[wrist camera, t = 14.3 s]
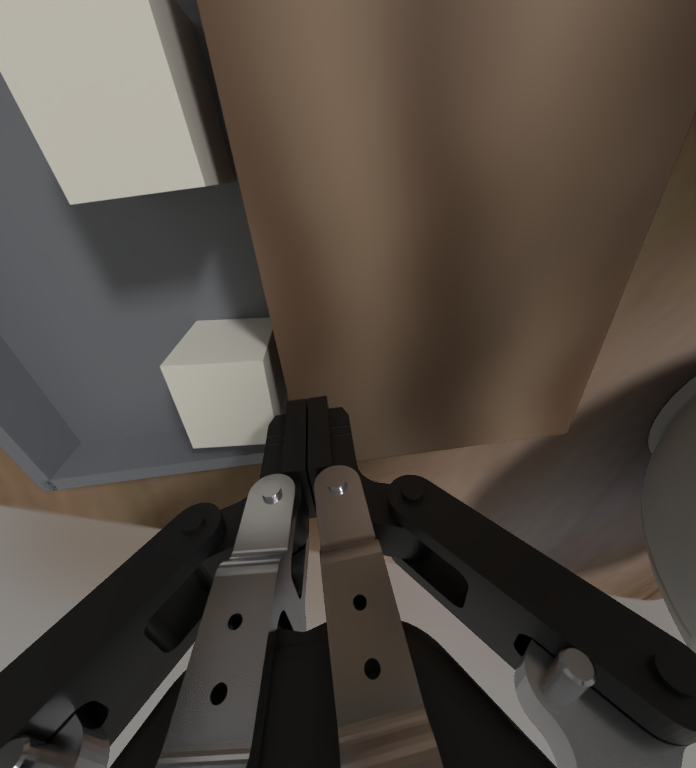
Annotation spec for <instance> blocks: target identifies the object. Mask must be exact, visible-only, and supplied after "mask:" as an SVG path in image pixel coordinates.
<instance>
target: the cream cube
mask: <svg viewBox="0 0 696 768" xmlns="http://www.w3.org/2000/svg"><path fill="white" fill-rule="evenodd" d="M0 72H1V74H2V76H3V78H4V80H5V82H6V83H7V85H8V87H9V89H10V91H11V93H12V95H13V97H14V99H15V101H16V103H17V104H18V106H19V108H20V110H21V112H22V114H23V116H24V118H25V120H26V122H27V124H28V125H29V127H30V129H31V131H32V133H33V135H34V137H35V139H36V141H37V143H38V144H39V146H40V148H41V150H42V152H43V154H44V156H45V158H46V160H47V162H48V164H49V165H50V167H51V169H52V171H53V173H54V175H55V177H56V179H57V181H58V183H59V185H60V186H61V188H62V190H63V192H64V194H65V196H66V198H67V200H68V202H69V204H70V205H72V204H80V203H87V202H94V201H102V200H109V199H117V198H124V197H131V196H139V195H146V194H153V193H161V192H168V191H175V190H183V189H190V188H198V187H205V186H211V185H217V184H224V183H230V182H235V179H234V176H233V172H232V168H231V164H230V160H229V157H228V153H227V149H226V145H225V141H224V137H223V134H222V130H221V126H220V122H219V118H218V115H217V111H216V107H215V103H214V99H213V96H212V92H211V88H210V84H209V80H208V76H207V73H206V69H205V65H204V61H203V57H202V54H201V50H200V46H199V42H198V38H197V34H196V31H195V27H194V23H193V22H192V21H191V20H190V18H189V17H188V16H187V15H186V14H185V12H184V11H183V10H182V9H181V7H180V6H179V5H178V4H177V2H176V1H175V0H0Z"/></svg>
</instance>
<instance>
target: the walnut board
mask: <svg viewBox="0 0 696 768" xmlns="http://www.w3.org/2000/svg"><path fill="white" fill-rule="evenodd" d="M197 4H198V8H199V12H200V17H201V21H202V25H203V30H204V34H205V38H206V43H207V47H208V51H209V56H210V60H211V64H212V69H213V73H214V77H215V82H216V86H217V90H218V95H219V99H220V103H221V108H222V112H223V116H224V121H225V125H226V129H227V134H228V138H229V142H230V146H231V151H232V155H233V159H234V164H235V168H236V172H237V177H238V181H239V185H240V190H241V194H242V198H243V203H244V207H245V211H246V216H247V220H248V224H249V229H250V233H251V237H252V242H253V246H254V250H255V255H256V259H257V263H258V268H259V272H260V276H261V280H262V285H263V289H264V293H265V298H266V302H267V306H268V311H269V315H270V319H271V324H272V328H273V332H274V337H275V341H276V345H277V350H278V354H279V358H280V363H281V367H282V371H283V376H284V380H285V384H286V389H287V393H288V397H289V400H297V399H305V398H307V400H308V398H312V397H320V396H327V400H328V406H329V408H336V407H342V408H343V409H344V410H345V411H346V412H347V413H348V414H349V420H350V426H351V432H352V438H353V444H354V450H355V456H356V461H361V460H369V459H376V458H384V457H392V456H399V455H407V454H414V453H422V452H430V451H437V450H445V449H452V448H460V447H468V446H475V445H483V444H490V443H498V442H506V441H513V440H521V439H529V438H536V437H544V436H551V435H559V434H567V432H568V429H569V427H570V424H571V422H572V419H573V417H574V414H575V412H576V409H577V407H578V404H579V402H580V399H581V397H582V394H583V392H584V389H585V387H586V384H587V382H588V379H589V377H590V374H591V372H592V369H593V367H594V364H595V362H596V359H597V357H598V354H599V352H600V349H601V347H602V344H603V342H604V339H605V337H606V334H607V332H608V329H609V327H610V324H611V322H612V319H613V317H614V314H615V312H616V309H617V307H618V304H619V302H620V299H621V297H622V294H623V292H624V289H625V287H626V284H627V282H628V280H629V277H630V275H631V272H632V270H633V267H634V265H635V262H636V260H637V257H638V255H639V252H640V250H641V247H642V245H643V242H644V240H645V237H646V235H647V232H648V230H649V227H650V225H651V222H652V220H653V217H654V215H655V212H656V210H657V207H658V205H659V202H660V200H661V197H662V195H663V192H664V190H665V187H666V185H667V182H668V180H669V177H670V175H671V172H672V170H673V167H674V165H675V162H676V160H677V157H678V155H679V152H680V150H681V147H682V145H683V142H684V140H685V137H686V135H687V132H688V130H689V127H690V125H691V122H692V120H693V117H694V115H695V112H696V0H197Z"/></svg>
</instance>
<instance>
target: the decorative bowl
mask: <svg viewBox="0 0 696 768" xmlns="http://www.w3.org/2000/svg"><path fill="white" fill-rule="evenodd" d="M648 446H649V449H650V452H651V453H652V456H651V459H650V461H649V464H648V467H647V470H646V474H645V478H644V482H643V488H642V498H641V512H642V526H643V533H644V539H645V544H646V548H647V552H648V556H649V560H650V564H651V567H652V570H653V573H654V576H655V579H656V581H657V584H658V587H659V589H660V592H661V594H662V596H663V599H664V601H665V603H666V605H667V608H668V610H669V612H670V614H671V616H672V618H673V620H674V622H675V624H676V626H677V628H678V630H679V632H680V634H681V636H682V637H683V639H684V641H685V643H686V644H687V646H688V647H689V648H690V649H691V650H692V651H693V652H695V653H696V376H695V377H694V378H693V379H691V380H690V381H689V382H688V383H686V384H685V385H684V386H683V387H682V388H681V389H680V390H679V391H678V392H677V393H676V394H675V395H674V396H673V397H672V398H671V399H670V400H669V401H668V402H667V403H666V405H665V406H664V407H663V408H662V410H661V411H660V413H659V414H658V416H657V417H656V419H655V421H654V423H653V425H652V427H651V430H650V433H649V438H648Z"/></svg>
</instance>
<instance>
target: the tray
mask: <svg viewBox="0 0 696 768" xmlns="http://www.w3.org/2000/svg"><path fill="white" fill-rule="evenodd" d="M175 1H176V2H177V4H178V5H179V6H180V7H181V9H182V10H183V11H184V12H185V14H186V15H187V16H188V17H189V18H190V20H191V21H192V22H193V23H194V27H195V31H196V34H197V38H198V42H199V46H200V50H201V54H202V57H203V61H204V65H205V69H206V73H207V76H208V80H209V84H210V88H211V92H212V96H213V99H214V103H215V107H216V111H217V115H218V118H219V122H220V126H221V130H222V134H223V137H224V141H225V145H226V149H227V153H228V157H229V160H230V164H231V168H232V172H233V176H234V179H235V182H230V183H224V184H217V185H211V186H205V187H198V188H190V189H183V190H175V191H168V192H161V193H153V194H146V195H139V196H131V197H124V198H117V199H109V200H102V201H94V202H87V203H80V204H72V205H70V204H69V202H68V200H67V198H66V196H65V194H64V192H63V190H62V188H61V186H60V185H59V183H58V181H57V179H56V177H55V175H54V173H53V171H52V169H51V167H50V165H49V164H48V162H47V160H46V158H45V156H44V154H43V152H42V150H41V148H40V146H39V144H38V143H37V141H36V139H35V137H34V135H33V133H32V131H31V129H30V127H29V125H28V124H27V122H26V120H25V118H24V116H23V114H22V112H21V110H20V108H19V106H18V104H17V103H16V101H15V99H14V97H13V95H12V93H11V91H10V89H9V87H8V85H7V83H6V82H5V80H4V78H3V76H2V74H1V72H0V447H1V448H2V449H3V450H4V451H5V452H6V453H7V454H8V455H9V456H10V457H11V458H12V459H13V460H14V461H15V462H16V463H17V464H18V465H19V466H20V468H21V469H22V470H23V471H24V472H25V473H26V474H27V475H28V476H29V477H30V478H31V479H32V480H33V481H34V482H35V483H36V484H37V485H38V486H39V487H40V488H41V490H42V491H43V492H45V491H53V490H60V489H68V488H76V487H83V486H91V485H99V484H106V483H114V482H122V481H129V480H137V479H145V478H152V477H160V476H168V475H175V474H183V473H191V472H198V471H206V470H214V469H221V468H229V467H237V466H244V465H252V464H260V463H262V462H263V456H264V449H265V446H266V445H265V444H257V445H241V446H225V447H209V448H194V449H193V447H192V444H191V442H190V439H189V437H188V434H187V432H186V430H185V427H184V425H183V422H182V420H181V417H180V415H179V412H178V410H177V407H176V405H175V403H174V400H173V398H172V395H171V393H170V390H169V388H168V385H167V383H166V380H165V378H164V376H163V373H162V371H161V368H160V365H161V364H162V363H163V362H164V360H165V359H166V358H167V357H168V355H169V354H170V353H171V352H172V350H173V349H174V348H175V347H176V346H177V344H178V343H179V342H180V341H181V339H182V338H183V337H184V336H185V335H186V333H187V332H188V331H189V330H190V328H191V327H192V326H193V325H194V323H195V322H196V321H201V320H222V319H244V318H265V317H270V315H269V311H268V306H267V302H266V298H265V293H264V289H263V285H262V280H261V276H260V272H259V268H258V263H257V259H256V255H255V250H254V246H253V242H252V237H251V233H250V229H249V224H248V220H247V216H246V211H245V207H244V203H243V198H242V194H241V190H240V185H239V181H238V177H237V172H236V168H235V164H234V159H233V155H232V151H231V146H230V142H229V138H228V134H227V129H226V125H225V121H224V116H223V112H222V108H221V103H220V99H219V95H218V90H217V86H216V82H215V77H214V73H213V69H212V64H211V60H210V56H209V51H208V47H207V43H206V38H205V34H204V30H203V25H202V21H201V17H200V12H199V8H198V4H197V0H175ZM287 401H289V397H288V393H287V395H286V401H285V408H284V414H286V410H287ZM284 414H283V415H284Z"/></svg>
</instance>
